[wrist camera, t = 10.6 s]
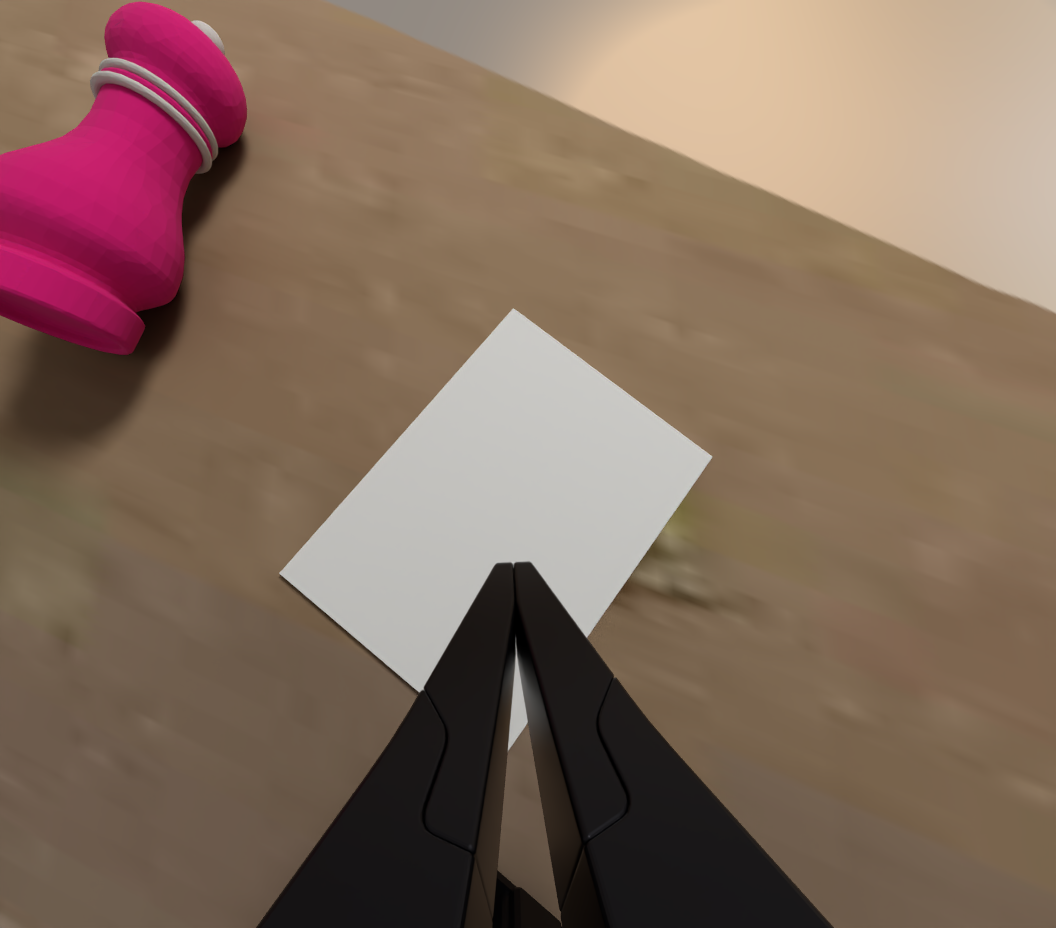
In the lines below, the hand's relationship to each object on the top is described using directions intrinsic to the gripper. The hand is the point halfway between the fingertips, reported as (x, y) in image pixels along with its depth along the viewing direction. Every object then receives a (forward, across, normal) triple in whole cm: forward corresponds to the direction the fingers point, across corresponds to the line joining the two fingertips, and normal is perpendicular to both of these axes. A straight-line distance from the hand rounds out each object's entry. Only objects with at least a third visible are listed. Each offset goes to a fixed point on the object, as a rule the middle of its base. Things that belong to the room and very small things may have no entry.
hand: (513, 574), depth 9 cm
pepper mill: (+14, -22, +2) cm, 26 cm away
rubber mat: (+10, 0, -7) cm, 13 cm away
